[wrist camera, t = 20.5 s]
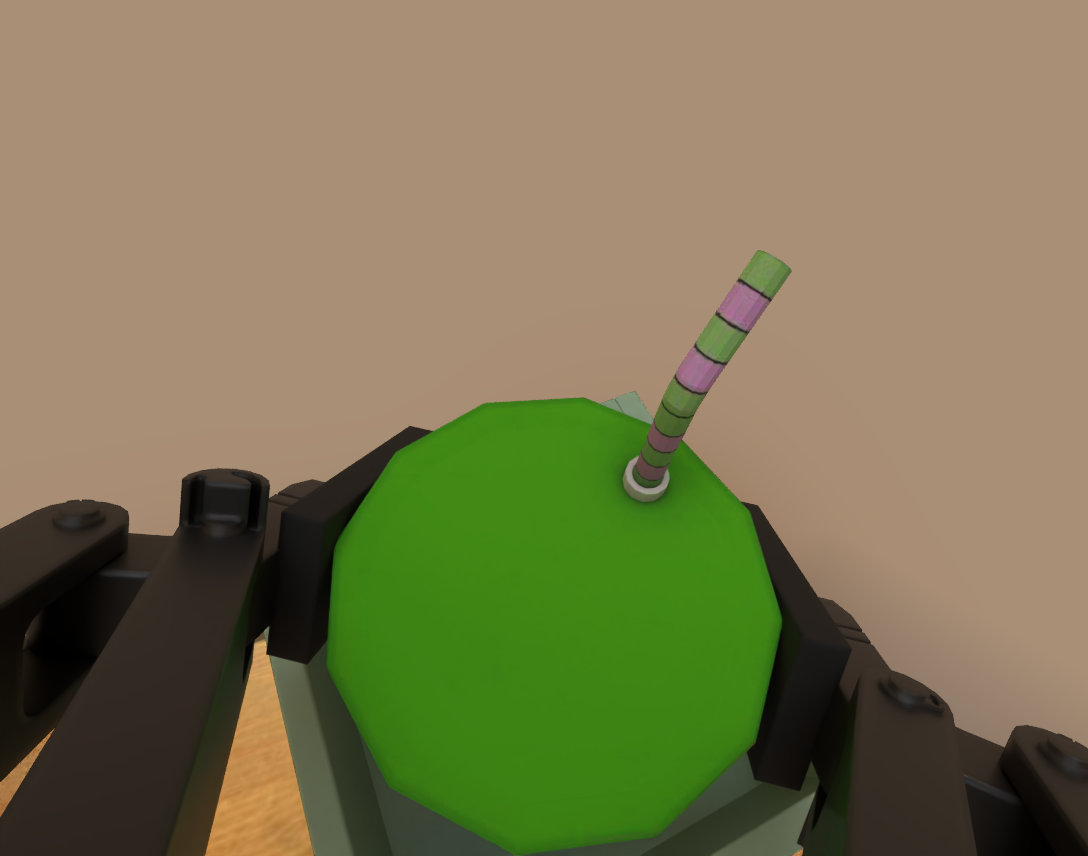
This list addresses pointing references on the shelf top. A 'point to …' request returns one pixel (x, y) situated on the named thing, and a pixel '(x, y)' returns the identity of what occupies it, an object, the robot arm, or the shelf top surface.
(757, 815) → the bin
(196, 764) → the robot arm
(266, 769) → the shelf top surface
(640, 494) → the cup
